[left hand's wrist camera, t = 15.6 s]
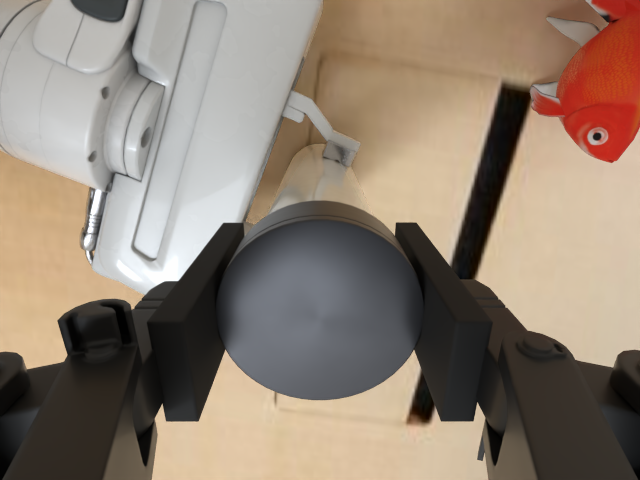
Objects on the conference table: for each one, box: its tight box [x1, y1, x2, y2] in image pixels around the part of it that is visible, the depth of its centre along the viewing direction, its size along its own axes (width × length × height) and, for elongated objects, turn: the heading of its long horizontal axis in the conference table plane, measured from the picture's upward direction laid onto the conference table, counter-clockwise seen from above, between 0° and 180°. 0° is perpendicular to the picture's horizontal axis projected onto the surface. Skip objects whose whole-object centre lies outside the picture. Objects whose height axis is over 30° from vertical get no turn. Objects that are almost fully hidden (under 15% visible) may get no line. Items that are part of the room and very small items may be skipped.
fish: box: [530, 0, 640, 163], centre depth 21 cm, size 11×16×10 cm
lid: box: [215, 200, 424, 400], centre depth 11 cm, size 6×6×2 cm
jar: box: [265, 144, 374, 217], centre depth 20 cm, size 5×5×19 cm
